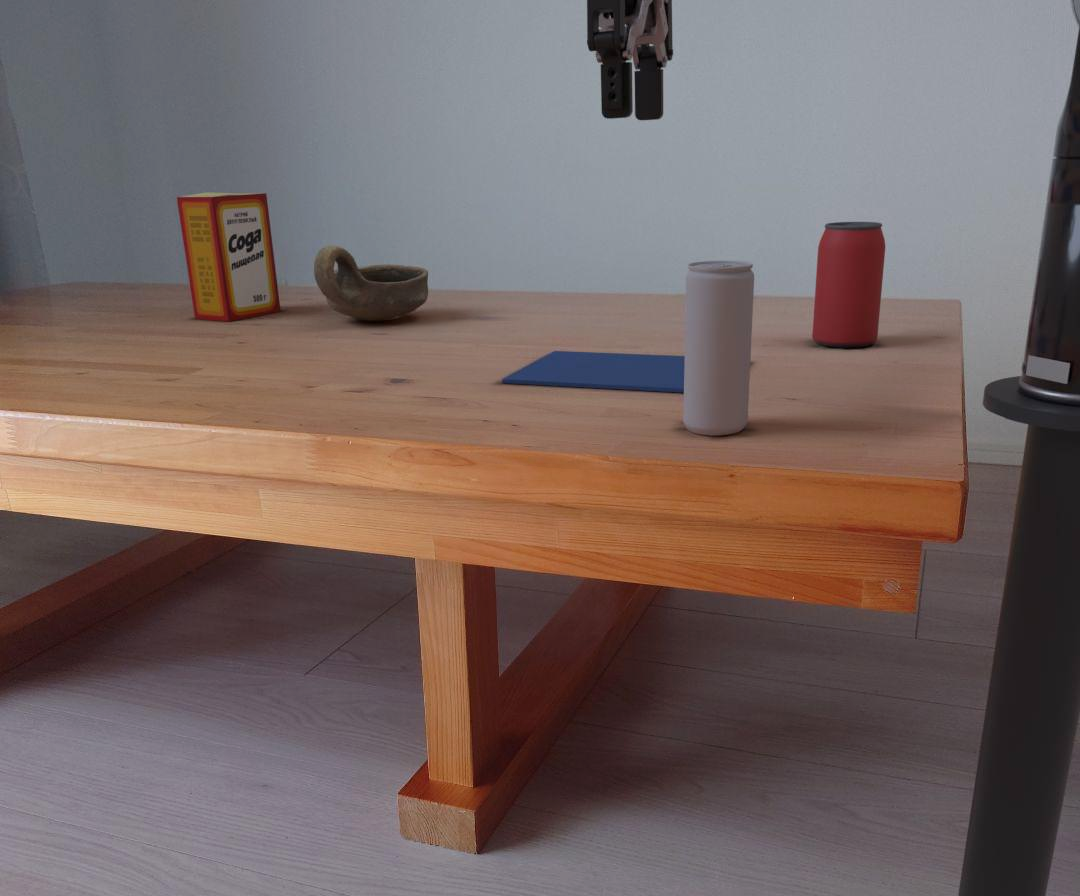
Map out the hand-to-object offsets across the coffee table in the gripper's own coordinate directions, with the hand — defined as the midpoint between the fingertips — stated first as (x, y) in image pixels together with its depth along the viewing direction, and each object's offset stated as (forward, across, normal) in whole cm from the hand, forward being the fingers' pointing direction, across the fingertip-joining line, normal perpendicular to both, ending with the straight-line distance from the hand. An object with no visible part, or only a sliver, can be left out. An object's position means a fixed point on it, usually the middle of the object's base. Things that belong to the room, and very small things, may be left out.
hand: (634, 119), depth 79 cm
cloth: (+22, +9, +4) cm, 24 cm away
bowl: (+21, +31, +45) cm, 59 cm away
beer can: (+22, +28, -14) cm, 38 cm away
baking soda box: (+21, +32, +67) cm, 77 cm away
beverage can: (+22, -9, -9) cm, 26 cm away
